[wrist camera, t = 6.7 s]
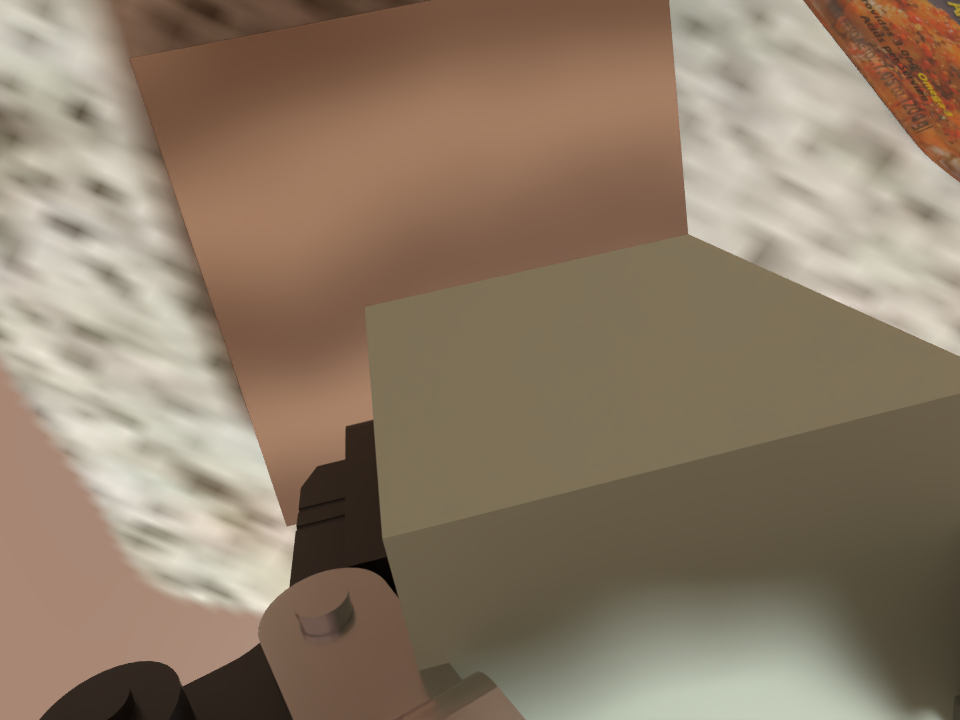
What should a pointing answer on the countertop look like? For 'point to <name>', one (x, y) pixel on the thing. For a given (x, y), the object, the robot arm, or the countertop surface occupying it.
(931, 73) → the tin
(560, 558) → the sage block
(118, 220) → the countertop surface
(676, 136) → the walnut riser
